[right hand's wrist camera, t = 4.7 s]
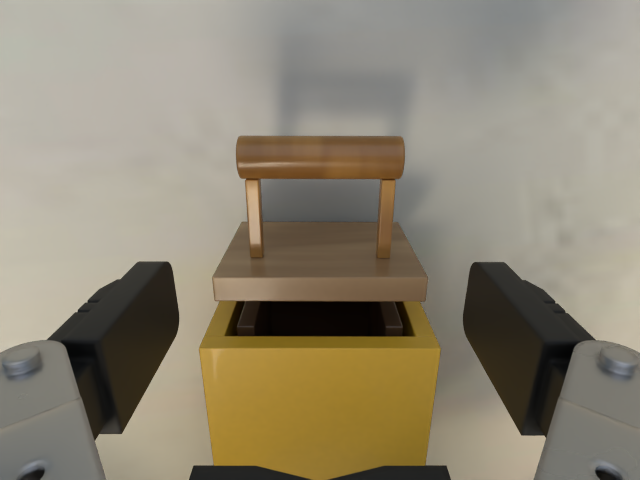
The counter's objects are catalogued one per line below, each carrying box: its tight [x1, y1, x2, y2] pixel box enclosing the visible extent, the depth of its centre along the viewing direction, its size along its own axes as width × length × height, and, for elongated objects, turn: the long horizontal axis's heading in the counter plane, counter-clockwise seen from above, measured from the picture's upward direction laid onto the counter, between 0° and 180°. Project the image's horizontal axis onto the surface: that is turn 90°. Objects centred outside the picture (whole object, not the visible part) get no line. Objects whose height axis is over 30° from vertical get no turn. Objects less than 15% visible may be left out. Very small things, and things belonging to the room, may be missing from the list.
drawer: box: [212, 136, 428, 337], centre depth 22 cm, size 21×9×7 cm, turn 0°
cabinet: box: [199, 301, 441, 480], centre depth 25 cm, size 17×10×9 cm, turn 0°
